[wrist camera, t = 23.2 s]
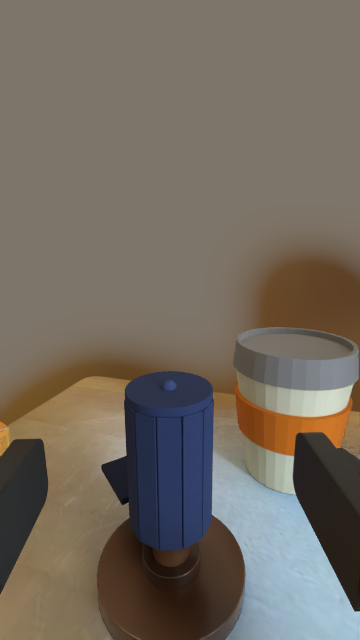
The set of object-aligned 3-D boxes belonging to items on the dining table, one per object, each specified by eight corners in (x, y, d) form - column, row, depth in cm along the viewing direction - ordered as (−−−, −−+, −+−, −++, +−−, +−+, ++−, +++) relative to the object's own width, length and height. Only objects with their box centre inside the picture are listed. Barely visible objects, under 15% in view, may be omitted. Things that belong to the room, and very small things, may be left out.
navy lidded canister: (227, 525, 23) (231, 385, 20) (153, 567, 20) (149, 409, 17) (157, 449, 31) (155, 345, 29) (99, 470, 28) (91, 356, 26)
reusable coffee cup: (215, 442, 42) (217, 330, 39) (300, 429, 45) (309, 324, 41) (261, 520, 30) (270, 367, 27) (374, 495, 33) (394, 354, 30)
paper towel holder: (178, 499, 32) (177, 357, 29) (274, 580, 24) (287, 398, 21) (72, 570, 25) (56, 393, 22) (160, 718, 17) (153, 475, 14)
